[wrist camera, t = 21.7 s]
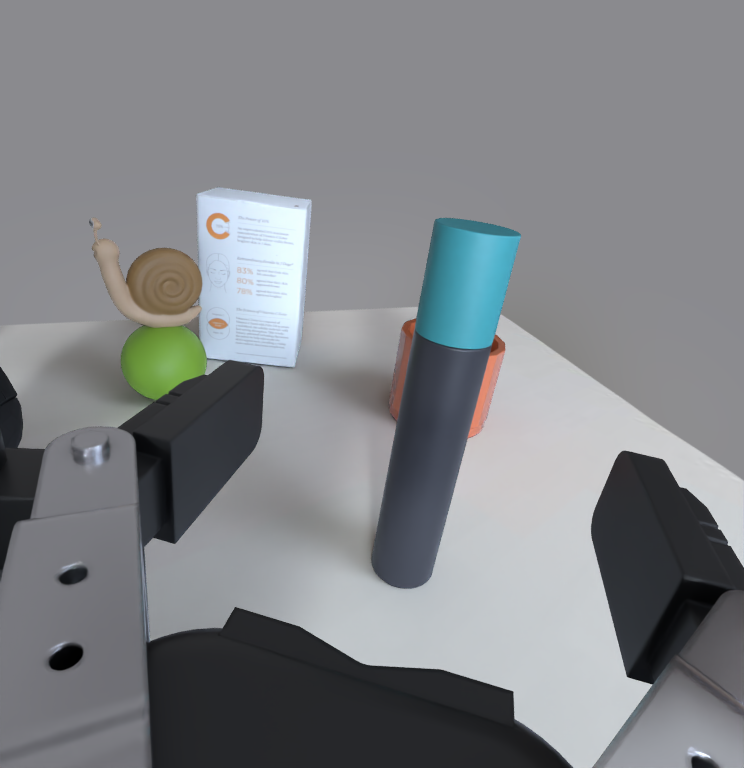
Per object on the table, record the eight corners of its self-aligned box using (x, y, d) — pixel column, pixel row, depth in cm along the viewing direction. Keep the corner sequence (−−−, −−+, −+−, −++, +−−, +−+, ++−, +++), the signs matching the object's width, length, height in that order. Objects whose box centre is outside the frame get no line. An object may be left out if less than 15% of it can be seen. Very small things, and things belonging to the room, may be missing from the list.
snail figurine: (101, 386, 35) (82, 209, 30) (194, 374, 39) (191, 214, 33) (115, 424, 31) (96, 228, 26) (217, 407, 35) (218, 232, 30)
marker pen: (364, 578, 23) (429, 223, 16) (378, 535, 26) (439, 214, 19) (428, 597, 23) (523, 240, 16) (435, 551, 25) (519, 228, 18)
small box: (302, 341, 48) (314, 198, 42) (295, 369, 42) (308, 208, 36) (215, 332, 47) (216, 184, 41) (197, 358, 41) (194, 192, 36)
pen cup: (379, 425, 36) (393, 341, 33) (397, 384, 42) (411, 311, 39) (482, 450, 35) (506, 365, 32) (484, 403, 41) (504, 330, 38)
